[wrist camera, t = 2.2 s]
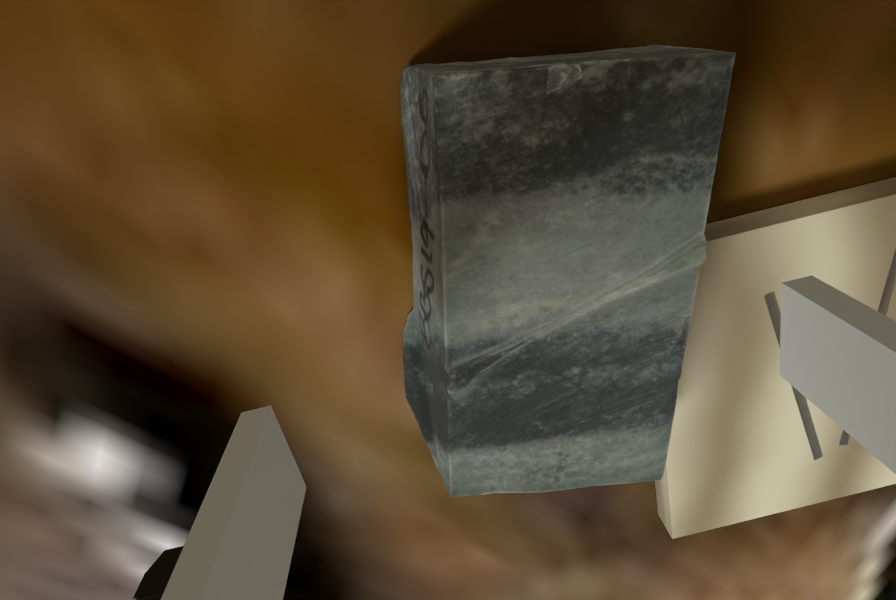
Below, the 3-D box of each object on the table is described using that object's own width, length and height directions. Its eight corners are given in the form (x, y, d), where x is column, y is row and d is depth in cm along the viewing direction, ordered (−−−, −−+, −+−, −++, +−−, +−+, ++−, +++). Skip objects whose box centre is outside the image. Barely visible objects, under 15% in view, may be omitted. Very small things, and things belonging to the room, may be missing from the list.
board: (657, 514, 27) (672, 538, 26) (632, 242, 21) (649, 255, 20) (1005, 427, 27) (1039, 448, 25) (1076, 131, 21) (1124, 137, 20)
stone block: (410, 425, 24) (414, 518, 19) (380, 55, 18) (375, 59, 13) (615, 407, 25) (669, 494, 20) (652, 44, 19) (740, 43, 14)
